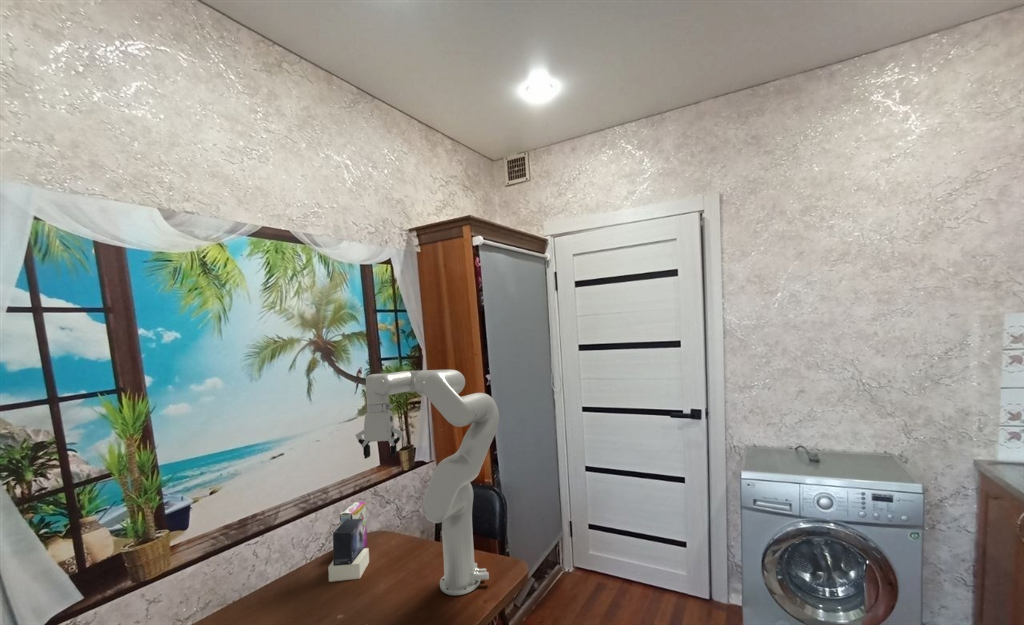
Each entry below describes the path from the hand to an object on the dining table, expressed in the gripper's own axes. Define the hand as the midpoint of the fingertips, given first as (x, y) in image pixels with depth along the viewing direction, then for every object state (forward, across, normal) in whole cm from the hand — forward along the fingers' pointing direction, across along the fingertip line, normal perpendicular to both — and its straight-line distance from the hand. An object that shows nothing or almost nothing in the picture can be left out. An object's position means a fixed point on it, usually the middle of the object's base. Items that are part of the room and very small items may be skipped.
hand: (380, 456), depth 141 cm
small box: (+32, +10, +5) cm, 34 cm away
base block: (+37, +10, +5) cm, 38 cm away
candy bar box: (+36, +15, -7) cm, 40 cm away
